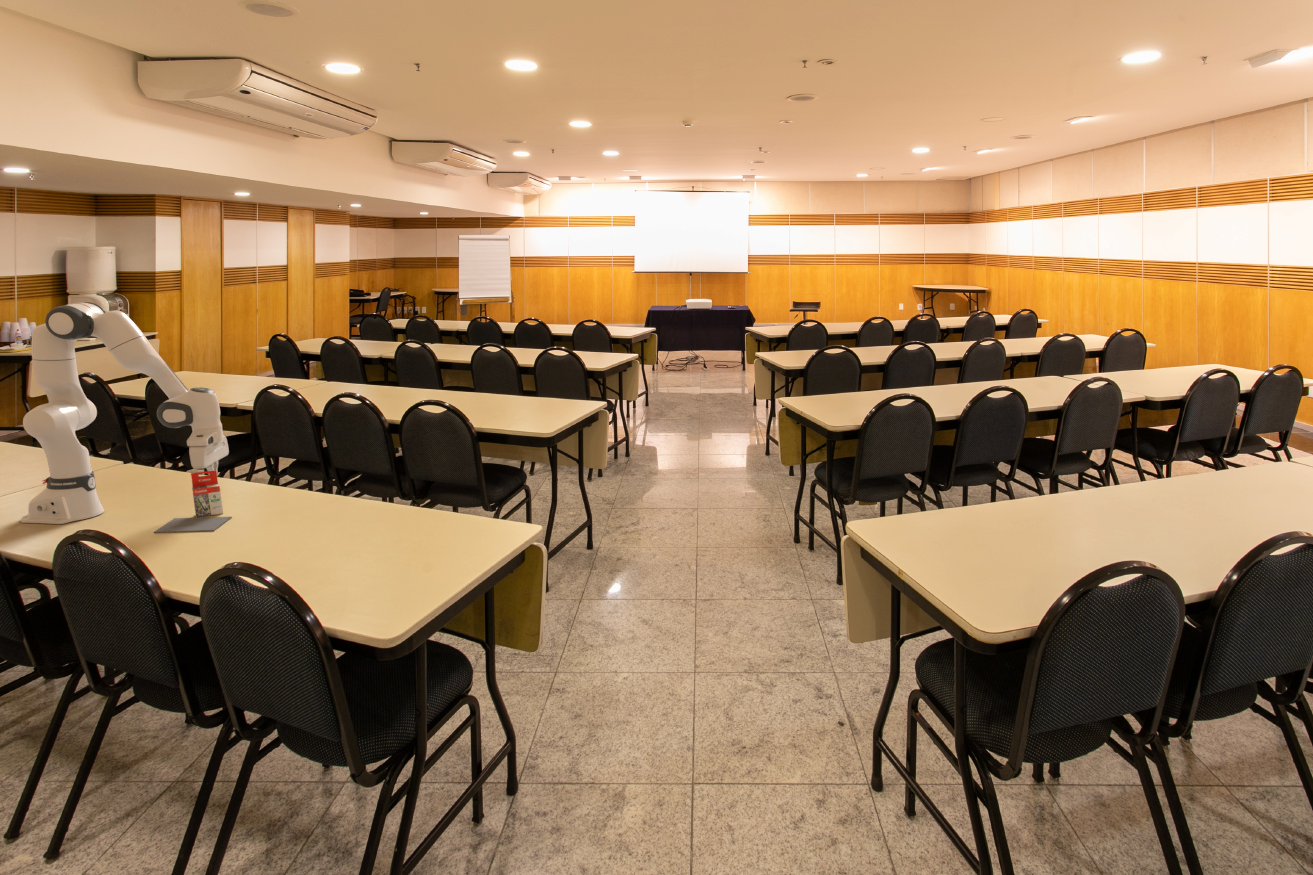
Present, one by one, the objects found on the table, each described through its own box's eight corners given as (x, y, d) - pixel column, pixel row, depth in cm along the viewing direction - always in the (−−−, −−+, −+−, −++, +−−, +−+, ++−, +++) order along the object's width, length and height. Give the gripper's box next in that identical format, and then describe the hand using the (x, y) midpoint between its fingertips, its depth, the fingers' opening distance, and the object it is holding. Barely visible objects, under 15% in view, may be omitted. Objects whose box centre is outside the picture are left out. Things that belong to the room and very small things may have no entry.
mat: (153, 532, 240) (153, 531, 240) (174, 519, 253) (174, 518, 253) (214, 531, 242) (214, 529, 242) (231, 517, 255) (231, 516, 255)
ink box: (223, 513, 259) (218, 472, 255) (196, 517, 254) (190, 475, 251) (222, 510, 262) (217, 469, 258) (195, 514, 257) (189, 473, 254)
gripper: (212, 429, 268) (217, 467, 271) (183, 442, 248) (189, 483, 251) (231, 428, 269) (235, 466, 272) (204, 442, 249) (209, 482, 252)
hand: (213, 474), depth 261 cm, fingers closed
